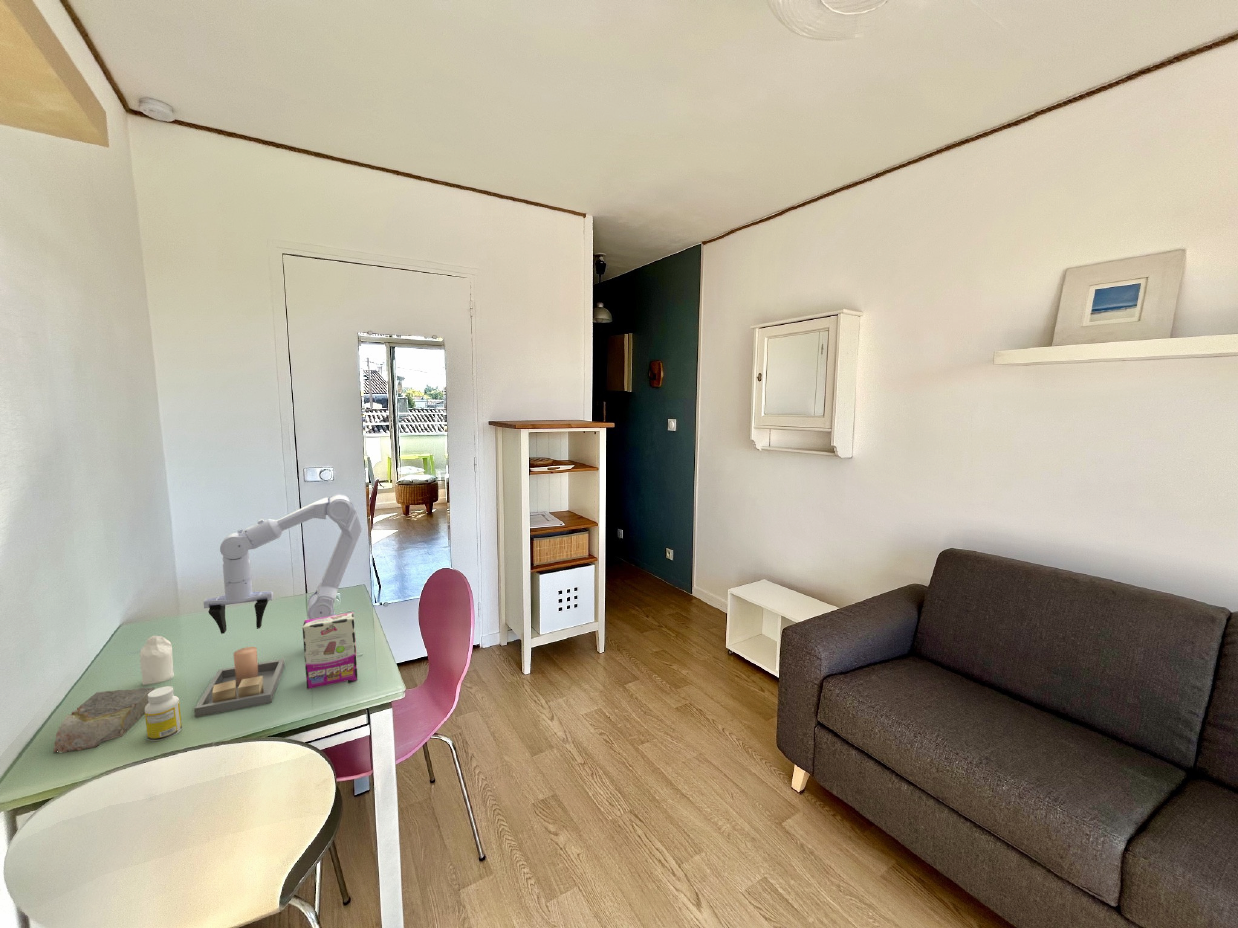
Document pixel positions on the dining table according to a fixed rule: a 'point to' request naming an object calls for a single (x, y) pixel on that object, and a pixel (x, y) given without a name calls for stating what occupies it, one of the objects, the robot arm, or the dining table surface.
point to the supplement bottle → (162, 714)
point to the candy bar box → (330, 650)
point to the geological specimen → (101, 719)
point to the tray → (270, 682)
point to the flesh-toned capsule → (245, 664)
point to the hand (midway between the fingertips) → (241, 629)
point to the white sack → (156, 660)
